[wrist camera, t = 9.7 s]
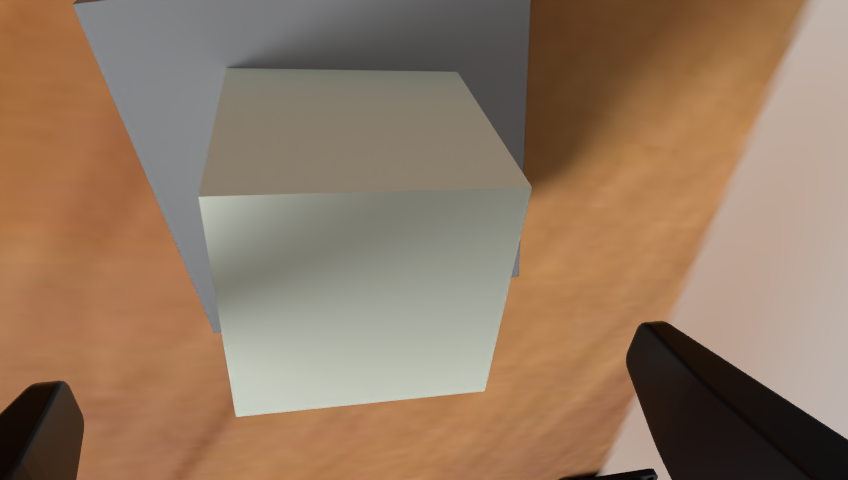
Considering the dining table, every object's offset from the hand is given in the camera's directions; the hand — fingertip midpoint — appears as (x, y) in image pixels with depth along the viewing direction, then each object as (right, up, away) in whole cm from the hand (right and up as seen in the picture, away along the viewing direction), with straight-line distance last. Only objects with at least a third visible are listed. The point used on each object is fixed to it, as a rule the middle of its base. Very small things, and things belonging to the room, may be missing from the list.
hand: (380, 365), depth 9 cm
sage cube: (-1, +4, +5) cm, 6 cm away
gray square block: (-2, +6, +8) cm, 10 cm away
